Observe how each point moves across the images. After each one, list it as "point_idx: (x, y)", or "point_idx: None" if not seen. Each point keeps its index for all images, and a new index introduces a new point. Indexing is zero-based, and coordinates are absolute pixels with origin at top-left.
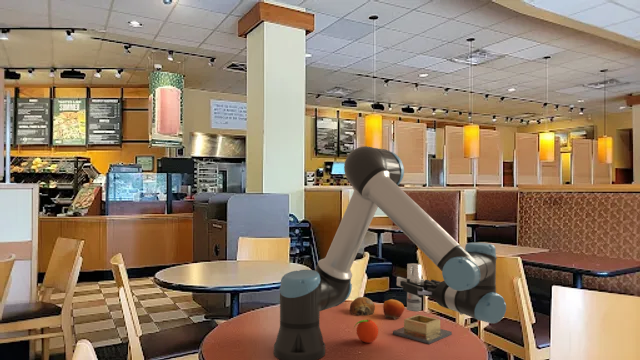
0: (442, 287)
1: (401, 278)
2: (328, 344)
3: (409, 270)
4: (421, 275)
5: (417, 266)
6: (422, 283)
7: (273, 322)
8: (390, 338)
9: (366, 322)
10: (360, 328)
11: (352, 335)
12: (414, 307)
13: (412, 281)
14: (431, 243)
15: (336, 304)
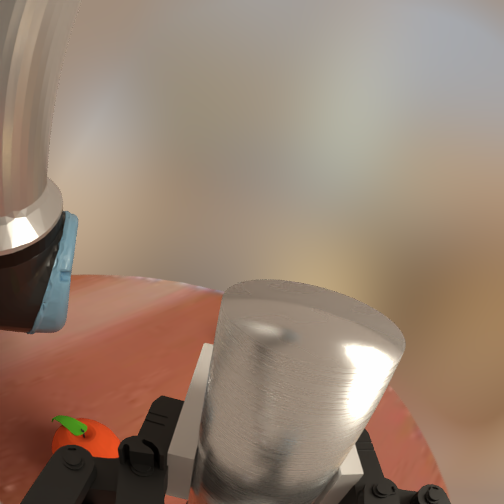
0: None
1: (192, 377)
2: (13, 410)
3: (212, 364)
4: (343, 459)
5: (307, 373)
6: (331, 494)
7: (75, 303)
8: (181, 500)
9: (67, 437)
10: (53, 437)
11: (110, 422)
12: None
13: (206, 474)
14: None
15: (7, 329)
